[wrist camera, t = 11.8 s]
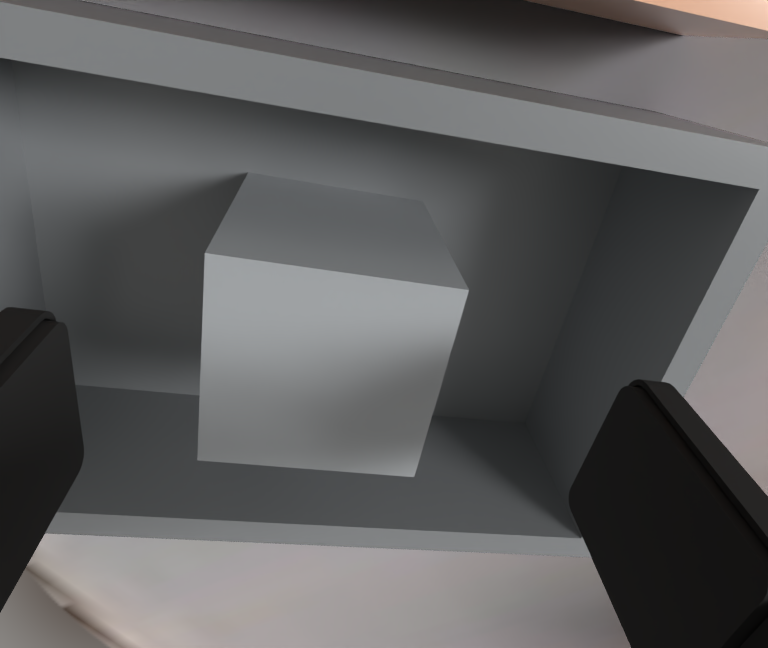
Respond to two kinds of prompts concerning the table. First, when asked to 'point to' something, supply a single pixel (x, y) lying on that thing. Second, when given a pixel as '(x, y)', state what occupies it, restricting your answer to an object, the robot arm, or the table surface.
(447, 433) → the bin
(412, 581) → the table surface
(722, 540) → the robot arm
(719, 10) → the trough
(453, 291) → the block
